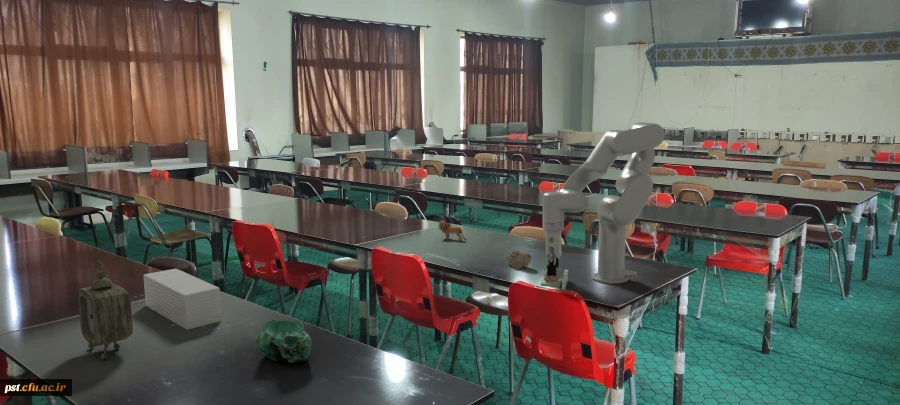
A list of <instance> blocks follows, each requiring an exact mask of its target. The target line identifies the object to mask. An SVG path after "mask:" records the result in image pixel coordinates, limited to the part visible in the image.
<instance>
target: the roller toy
mask: <svg viewBox="0 0 900 405" xmlns="http://www.w3.org/2000/svg"><path fill="white" fill-rule="evenodd" d="M542 274H543V277H544V280H545V281H546V282H556V281H558V280H559V279H560V278H561V275H562V274H561V269H559V268H557V267H556V276H548V275H547V265H546V266H545V267H544V268H543V271H542Z"/></svg>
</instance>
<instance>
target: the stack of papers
mask: <svg viewBox="0 0 900 405" xmlns="http://www.w3.org/2000/svg"><path fill="white" fill-rule="evenodd" d="M143 283H144V284H143V287H144V299H145V301H144V302H145V307H147V308H149V309H151V310H153V311H155V312H156V313H157V314H159V315H161V316H163V317H165V318H166V319H168V320H170V321H172V322H173V323H174V324H176V325H178V326H180V327H181V328H183V329H185V330H191V329H195V328H199V327H203V326H207V325H211V324H215V323H218V322H221V321H222V308H221V306H222V305H221V293H220V291H221V289H220V287H219V286H216V285H214V284H211V283H209V282H207V281H205V280H203V279H201V278H198V277H196V276H193V275H192V274H189V273H187V272H185V271H183V270H180V269H178V268H172V269H166V270H160V271H157V272H156V271H155V272H150V273H145V274H143Z"/></svg>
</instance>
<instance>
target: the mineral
mask: <svg viewBox="0 0 900 405" xmlns="http://www.w3.org/2000/svg"><path fill="white" fill-rule="evenodd" d="M312 341H313V340H312V338H311V336H310V334H309V333H307V332H306V331H305V327H304V324H303V322H301V321H300V322H299V321H297V322H295V321H294V322H292V321H291V320H287V319H286V320H276V319H272V320H270V321H266V323H265V324H264V325H263V327H261V330H260V331H259V334H258V336H257V337H256V339H255V348H257V350H258V351H259V352H260V353H262V354H264V355H265V356H267V357H268V358H269V359H270V360H272V361H274V362H279V361H280V362H281V361H283V362H288V363H289V364H291V363H293V364H295V363H296V364H297V363H298V364H299V363H303V362H306V361H307V360H308V358H309V356H310V354H311V352H312V344H313V342H312Z"/></svg>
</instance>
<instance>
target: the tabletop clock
mask: <svg viewBox="0 0 900 405" xmlns="http://www.w3.org/2000/svg"><path fill="white" fill-rule="evenodd" d="M98 264H99V265H100V267H102V268H101V269H102V271H101V270H100V271H99V269H98V266H99V265H98ZM94 267H95V272H96V274H97V276H98V277H97V278H95V279H94V280H93V281H92V282H91V286H87V287H83V288H78V289H77V302H78V315H79V323H80V329H81V330H80V331H81V334H82V336H83V337H84V340H85V341H86V342H88V345H87V347H88V348H89V349H94V348H95V347H100V346H104V347H103V348H104V349H103V353H101V355H100V359H101V360H107V359H108V356H109V355H108V354H107V351H108V347H109V346H110V345H111V344H113V346H112V347H113V349H114V350H116V351H117V350H119V349H120V348H121V345H120V344H119V343H117V342H120V341H124V340H127V339H128V338H129V337H130V336H131V335H133V331H134V329H133V327H134V326H133V312H132V311H133V310H132V305H131V304H132V302H131V297H130V294H129V292H128V291H127V289H125V288H124V287H122V286H120V285H117V284H114V283H113V282H112V280H111V279H110V278H108V277H106V267H105V265H104V263H103V262H102V261H100V260H97V261H96V262H95V266H94Z"/></svg>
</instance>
